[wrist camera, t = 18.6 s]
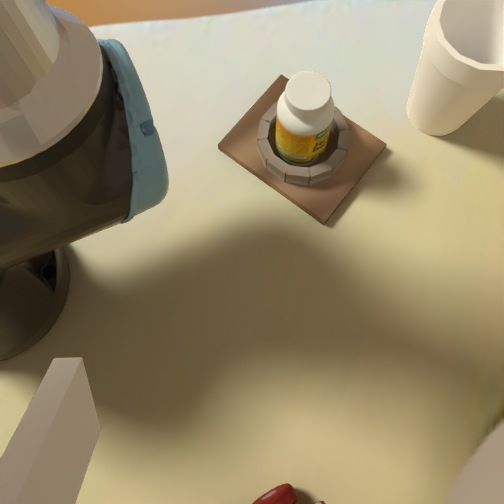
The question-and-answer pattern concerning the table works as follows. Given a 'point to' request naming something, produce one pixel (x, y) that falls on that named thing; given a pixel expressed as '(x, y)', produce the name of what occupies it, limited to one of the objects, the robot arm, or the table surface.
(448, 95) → the foam cup
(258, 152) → the socket board
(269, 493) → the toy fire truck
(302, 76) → the supplement bottle
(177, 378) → the table surface
